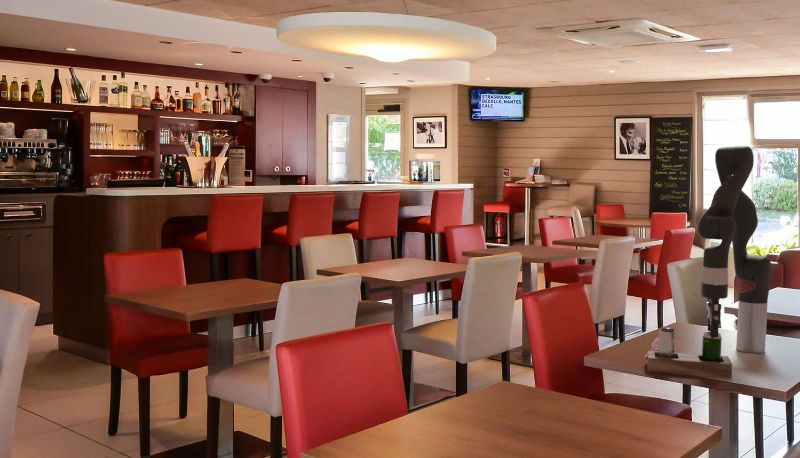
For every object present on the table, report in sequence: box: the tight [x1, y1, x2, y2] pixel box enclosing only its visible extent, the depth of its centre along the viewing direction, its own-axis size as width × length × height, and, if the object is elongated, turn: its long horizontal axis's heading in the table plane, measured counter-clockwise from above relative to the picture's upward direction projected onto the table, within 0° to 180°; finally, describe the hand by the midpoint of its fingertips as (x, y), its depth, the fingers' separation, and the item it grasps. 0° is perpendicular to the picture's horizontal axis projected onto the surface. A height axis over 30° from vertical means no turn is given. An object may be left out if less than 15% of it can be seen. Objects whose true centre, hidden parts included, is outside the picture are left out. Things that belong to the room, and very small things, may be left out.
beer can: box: [701, 331, 723, 362], centre depth 251 cm, size 5×5×12 cm
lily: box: [644, 336, 659, 359], centre depth 271 cm, size 12×12×10 cm
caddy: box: [646, 349, 733, 379], centre depth 253 cm, size 11×24×5 cm, turn 74°
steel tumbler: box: [658, 326, 676, 359], centre depth 255 cm, size 5×5×13 cm
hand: (712, 334), depth 251 cm, fingers open, 8 cm apart
